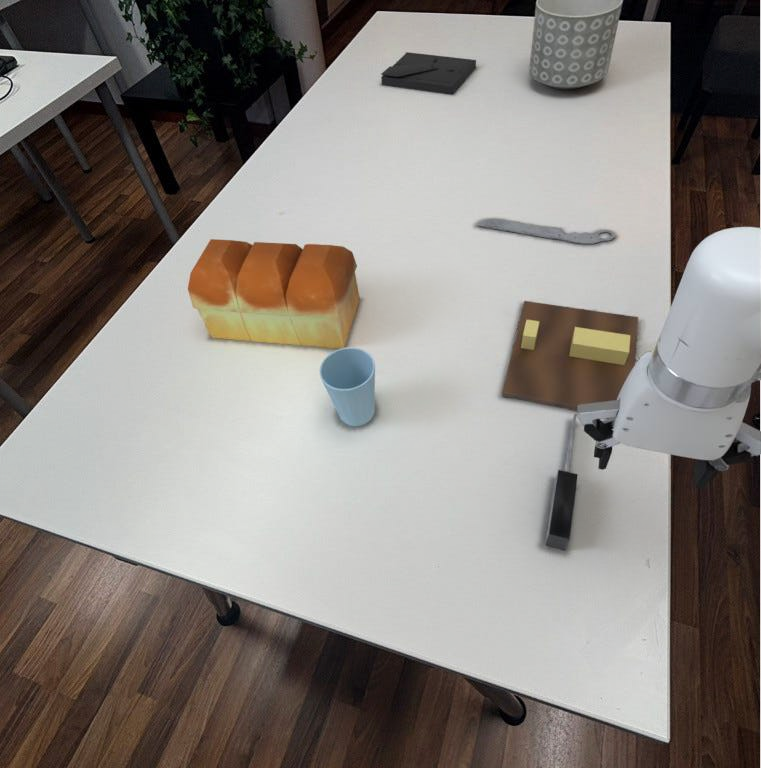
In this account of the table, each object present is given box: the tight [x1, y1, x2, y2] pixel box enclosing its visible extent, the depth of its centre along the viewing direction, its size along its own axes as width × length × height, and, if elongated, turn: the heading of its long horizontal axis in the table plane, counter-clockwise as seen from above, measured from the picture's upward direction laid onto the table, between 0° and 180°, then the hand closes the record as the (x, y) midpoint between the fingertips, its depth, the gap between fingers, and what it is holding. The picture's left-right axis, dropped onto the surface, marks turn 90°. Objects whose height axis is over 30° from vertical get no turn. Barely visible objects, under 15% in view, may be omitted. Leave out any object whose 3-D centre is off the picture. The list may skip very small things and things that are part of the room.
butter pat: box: [521, 320, 539, 350], centre depth 87 cm, size 2×4×3 cm, turn 162°
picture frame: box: [380, 51, 477, 95], centre depth 150 cm, size 16×3×21 cm
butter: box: [569, 327, 630, 365], centre depth 84 cm, size 8×4×3 cm, turn 72°
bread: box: [187, 238, 361, 350], centre depth 93 cm, size 25×12×15 cm, turn 79°
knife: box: [476, 218, 616, 245], centre depth 106 cm, size 25×1×5 cm
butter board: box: [502, 300, 639, 411], centre depth 86 cm, size 18×20×1 cm
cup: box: [319, 346, 376, 427], centre depth 80 cm, size 8×8×10 cm
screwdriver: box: [544, 413, 579, 552], centre depth 73 cm, size 19×2×4 cm, turn 162°
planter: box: [528, 0, 624, 91], centre depth 134 cm, size 19×19×18 cm
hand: (649, 467), depth 61 cm, fingers open, 9 cm apart
